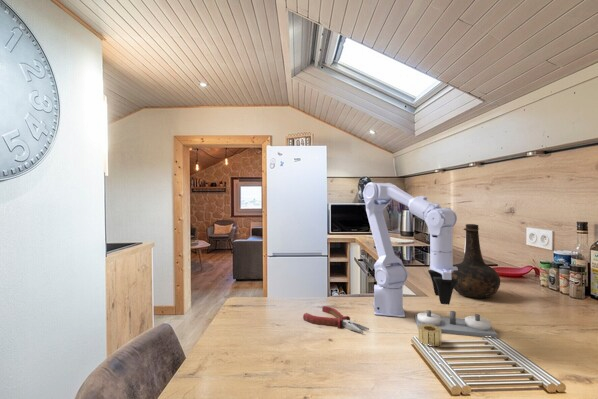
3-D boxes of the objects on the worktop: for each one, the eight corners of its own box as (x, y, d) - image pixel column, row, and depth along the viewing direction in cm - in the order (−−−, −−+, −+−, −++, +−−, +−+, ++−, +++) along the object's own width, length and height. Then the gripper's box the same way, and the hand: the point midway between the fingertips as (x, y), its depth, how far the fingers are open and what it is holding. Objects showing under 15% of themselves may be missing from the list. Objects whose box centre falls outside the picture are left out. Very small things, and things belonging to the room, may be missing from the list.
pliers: (354, 341, 81) (354, 331, 81) (301, 321, 95) (301, 312, 95) (377, 329, 89) (377, 320, 89) (324, 312, 103) (324, 304, 103)
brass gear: (420, 345, 77) (419, 331, 77) (417, 336, 82) (417, 323, 82) (443, 348, 76) (442, 333, 76) (439, 338, 81) (438, 325, 81)
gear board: (418, 330, 86) (418, 314, 86) (414, 317, 96) (414, 303, 96) (497, 338, 81) (497, 321, 81) (485, 323, 91) (485, 308, 91)
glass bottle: (496, 291, 124) (495, 223, 124) (504, 305, 108) (503, 226, 108) (448, 286, 131) (447, 222, 132) (448, 298, 115) (448, 225, 116)
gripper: (464, 255, 77) (464, 309, 77) (450, 247, 91) (451, 293, 91) (434, 254, 79) (434, 307, 78) (425, 246, 93) (426, 291, 92)
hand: (441, 299), depth 85 cm, fingers open, 7 cm apart
